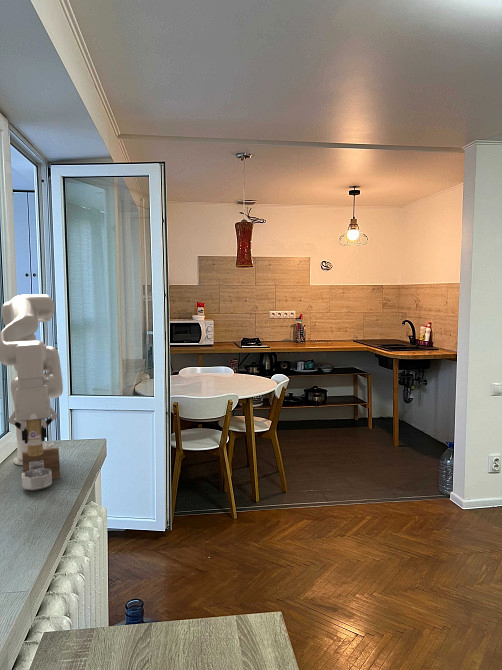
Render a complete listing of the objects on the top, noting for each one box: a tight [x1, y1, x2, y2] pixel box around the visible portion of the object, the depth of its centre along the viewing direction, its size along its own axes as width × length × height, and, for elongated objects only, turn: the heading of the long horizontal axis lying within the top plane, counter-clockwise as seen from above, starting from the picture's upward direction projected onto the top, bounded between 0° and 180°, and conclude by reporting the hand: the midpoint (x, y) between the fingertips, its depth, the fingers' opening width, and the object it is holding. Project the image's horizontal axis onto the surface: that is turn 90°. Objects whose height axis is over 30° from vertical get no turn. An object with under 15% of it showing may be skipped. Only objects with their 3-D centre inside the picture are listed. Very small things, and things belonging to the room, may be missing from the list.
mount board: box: [22, 446, 61, 480], centre depth 174 cm, size 6×11×10 cm, turn 113°
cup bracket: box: [21, 460, 53, 491], centre depth 166 cm, size 11×9×6 cm
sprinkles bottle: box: [26, 414, 43, 456], centre depth 163 cm, size 5×5×13 cm
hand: (34, 440), depth 163 cm, fingers closed on sprinkles bottle, 4 cm apart
